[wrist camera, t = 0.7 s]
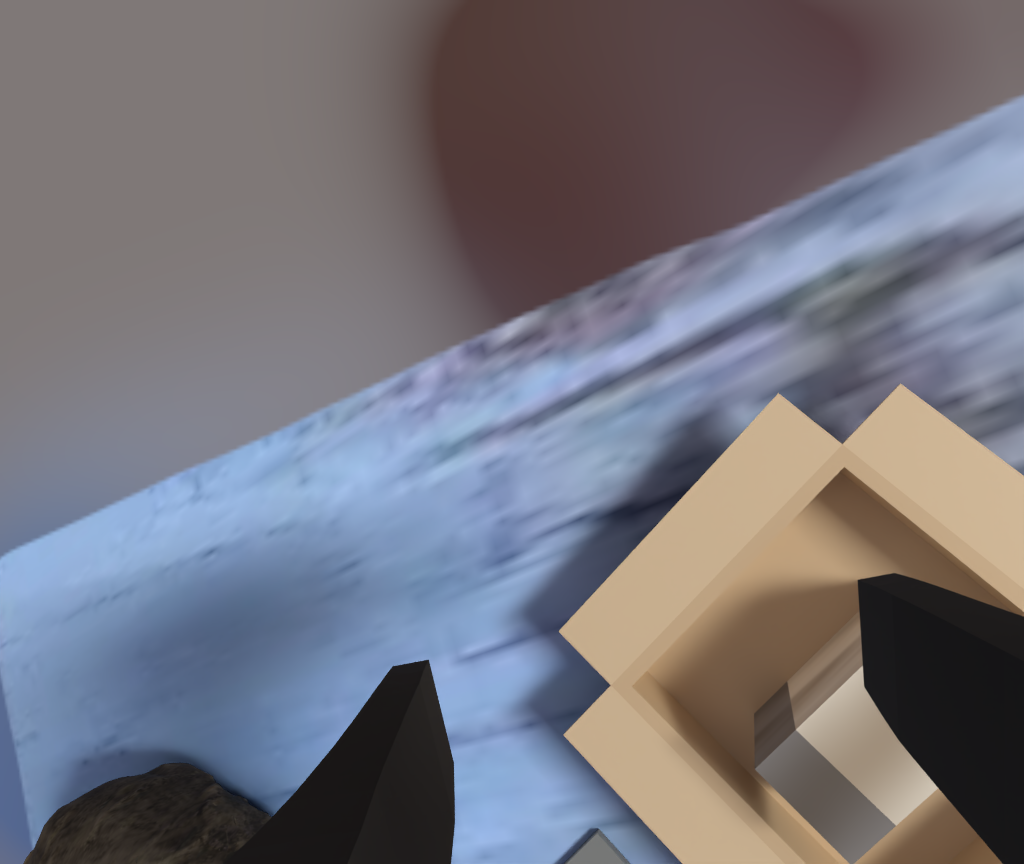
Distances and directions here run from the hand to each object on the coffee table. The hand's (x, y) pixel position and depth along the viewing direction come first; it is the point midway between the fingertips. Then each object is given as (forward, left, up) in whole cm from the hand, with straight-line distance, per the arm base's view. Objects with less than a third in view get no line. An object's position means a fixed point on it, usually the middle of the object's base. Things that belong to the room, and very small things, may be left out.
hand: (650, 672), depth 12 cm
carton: (-8, 0, -21) cm, 22 cm away
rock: (+8, +30, -21) cm, 38 cm away
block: (-8, 0, -20) cm, 22 cm away
